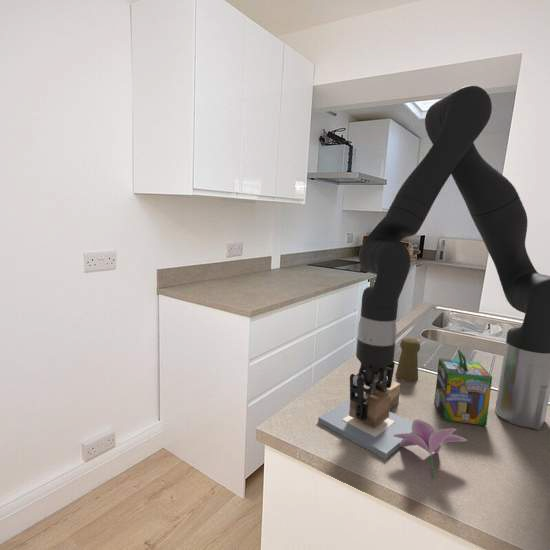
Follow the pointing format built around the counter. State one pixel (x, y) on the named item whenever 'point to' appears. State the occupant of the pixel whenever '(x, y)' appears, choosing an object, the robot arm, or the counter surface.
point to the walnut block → (374, 408)
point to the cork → (408, 360)
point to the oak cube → (394, 393)
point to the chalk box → (462, 391)
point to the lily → (428, 438)
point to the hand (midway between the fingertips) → (369, 413)
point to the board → (367, 430)
